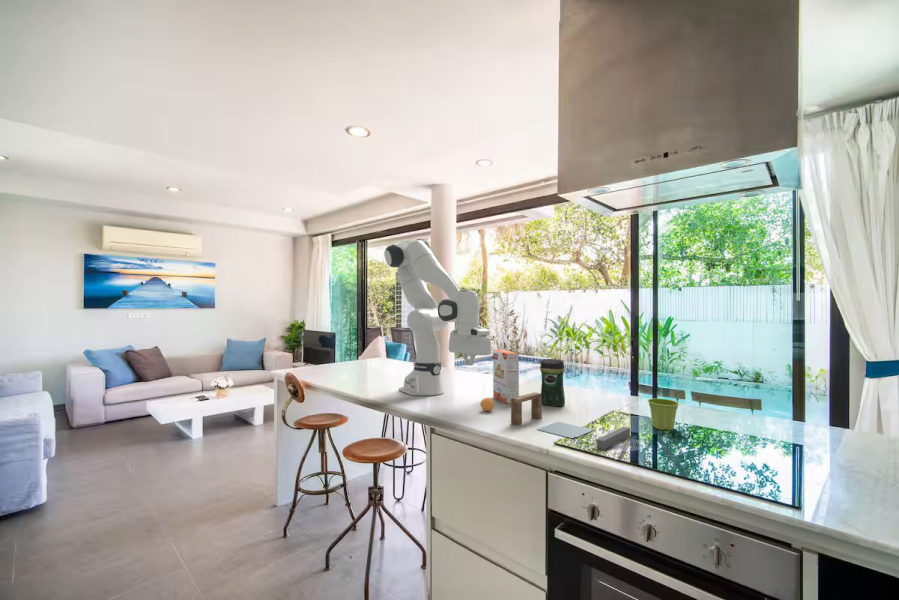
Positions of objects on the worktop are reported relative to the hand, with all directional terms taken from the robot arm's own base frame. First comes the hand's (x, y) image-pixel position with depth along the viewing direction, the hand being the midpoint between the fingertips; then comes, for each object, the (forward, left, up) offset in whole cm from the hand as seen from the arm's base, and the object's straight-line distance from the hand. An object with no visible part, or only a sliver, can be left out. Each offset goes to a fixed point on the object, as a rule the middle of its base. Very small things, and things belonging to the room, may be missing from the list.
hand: (469, 365), depth 164 cm
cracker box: (+3, +20, -17) cm, 26 cm away
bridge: (+28, 0, -17) cm, 32 cm away
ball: (+10, 0, -14) cm, 17 cm away
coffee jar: (+21, +28, -17) cm, 39 cm away
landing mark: (+43, 0, -17) cm, 46 cm away
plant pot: (+64, +26, -17) cm, 71 cm away
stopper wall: (+59, 0, -17) cm, 61 cm away
